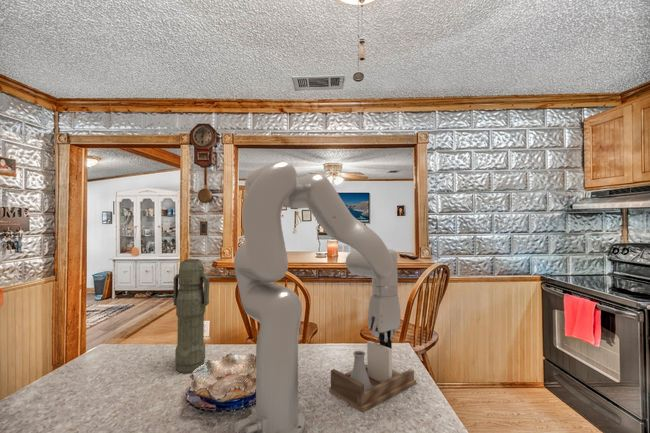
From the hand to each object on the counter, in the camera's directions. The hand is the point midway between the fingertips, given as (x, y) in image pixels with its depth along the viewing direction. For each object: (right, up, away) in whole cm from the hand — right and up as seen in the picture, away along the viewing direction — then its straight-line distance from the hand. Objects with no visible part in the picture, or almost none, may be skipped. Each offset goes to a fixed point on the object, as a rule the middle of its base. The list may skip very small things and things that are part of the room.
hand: (385, 353), depth 92 cm
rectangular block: (-2, -7, -2) cm, 7 cm away
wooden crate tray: (-4, -8, -4) cm, 10 cm away
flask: (-9, -7, -7) cm, 13 cm away
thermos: (-62, -9, +10) cm, 63 cm away
